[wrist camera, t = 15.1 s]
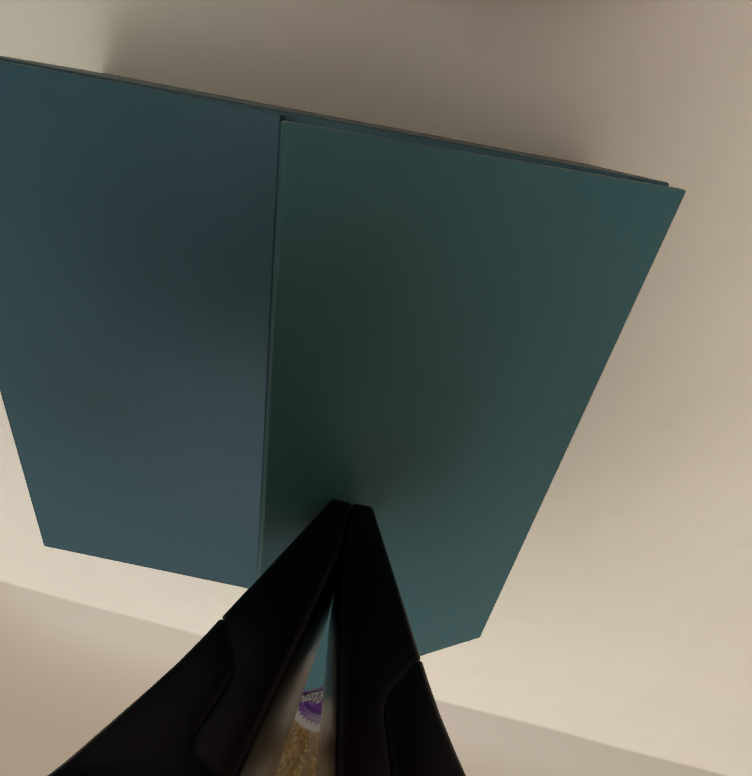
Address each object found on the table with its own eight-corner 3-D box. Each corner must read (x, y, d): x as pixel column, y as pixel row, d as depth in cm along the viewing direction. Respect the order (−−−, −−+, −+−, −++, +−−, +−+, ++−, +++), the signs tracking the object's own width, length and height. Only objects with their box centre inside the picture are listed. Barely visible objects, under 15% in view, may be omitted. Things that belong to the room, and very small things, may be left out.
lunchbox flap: (673, 187, 9) (687, 190, 8) (475, 629, 15) (479, 637, 15) (280, 119, 6) (285, 121, 6) (251, 696, 13) (252, 708, 12)
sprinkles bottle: (386, 539, 22) (328, 1002, 10) (401, 602, 24) (369, 1046, 12) (295, 544, 23) (148, 975, 11) (318, 604, 25) (214, 1021, 13)
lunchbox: (590, 164, 14) (687, 187, 8) (468, 506, 20) (479, 637, 15) (101, 73, 14) (-105, 37, 9) (142, 440, 21) (42, 546, 15)
